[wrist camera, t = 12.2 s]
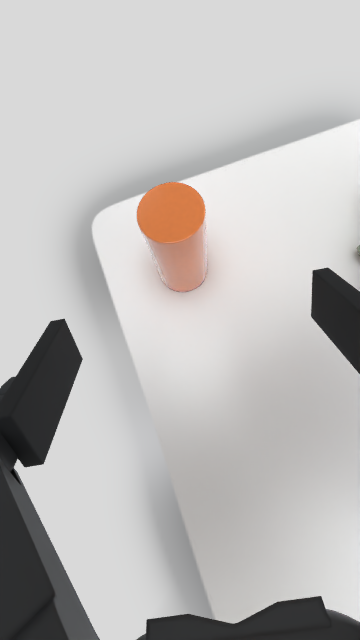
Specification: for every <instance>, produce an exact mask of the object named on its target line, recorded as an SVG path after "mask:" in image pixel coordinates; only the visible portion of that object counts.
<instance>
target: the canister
mask: <svg viewBox="0 0 360 640" xmlns="http://www.w3.org/2000/svg"><path fill="white" fill-rule="evenodd" d="M137 222H138V225H139V227H140V230H141V232H142V234H143V237H144V239H145V241H146V244H147V246H148V249H149V251H150V253H151V256H152V258H153V260H154V263H155V265H156V267H157V270H158V272H159V274H160V277H161V279H162V281H163V282H164V284H165V285H166V286H167V287H169V288H170V289H172V290H174V291H178V292H187V291H191V290H193V289H195V288H197V287H198V286H199V285H201V283H202V282H203V281H204V279H205V277H206V274H207V244H206V212H205V204H204V201H203V199H202V197H201V196H200V194H199V193H198V192H197V191H196V190H195V189H194V188H192V187H190V186H188V185H186V184H183V183H177V182H169V183H164V184H161V185H158V186H156V187H154V188H153V189H151V190H150V191H148V192H147V193H146V194H145V195H144V197H143V198H142V199H141V201H140V203H139V206H138V209H137Z"/></svg>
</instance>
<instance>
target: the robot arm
mask: <svg viewBox="0 0 360 640" xmlns="http://www.w3.org/2000/svg"><path fill="white" fill-rule="evenodd" d="M311 317H312V318H313V319H314V321H315V322H316V323H317V324H318V325H319V327H320V328H321V329H322V330H323V331H324V332H325V334H326V335H327V336H328V337H329V338H330V340H331V341H332V342H333V343H334V344H335V345H336V347H337V348H338V349H339V350H340V351H341V353H342V354H343V355H344V356H345V357H346V358H347V360H348V361H349V362H350V363H351V364H352V366H353V367H354V368H355V369H356V370H357V371H358V373H359V374H360V292H359V291H358V290H357V289H355V288H354V287H353V286H351V285H350V284H349V283H347V282H346V281H345V280H344V279H342V278H341V277H340V276H338V275H337V274H336V273H334V272H333V271H332V270H330V269H329V268H324V269H318V270H313V279H312V308H311ZM81 362H82V357H81V355H80V352H79V350H78V348H77V346H76V343H75V341H74V339H73V337H72V334H71V332H70V330H69V328H68V326H67V323H66V321H65V319H60V320H56V321H51V322H50V323H49V325H48V326H47V328H46V330H45V332H44V333H43V335H42V336H41V338H40V339H39V341H38V342H37V344H36V346H35V347H34V349H33V350H32V352H31V353H30V355H29V357H28V358H27V360H26V361H25V363H24V365H23V366H22V368H21V369H20V371H19V373H18V374H17V376H16V377H11V378H10V379H9V380H8V381H7V382H6V383H5V384H3V385H2V386H1V388H0V640H100V639H99V638H98V636H97V634H96V632H95V630H94V628H93V626H92V624H91V622H90V620H89V618H88V616H87V614H86V612H85V610H84V608H83V606H82V604H81V602H80V600H79V598H78V596H77V594H76V591H75V589H74V587H73V585H72V583H71V581H70V579H69V577H68V575H67V573H66V571H65V569H64V567H63V565H62V563H61V561H60V559H59V557H58V555H57V553H56V551H55V548H54V546H53V545H52V542H51V540H50V538H49V537H48V535H47V532H46V530H45V528H44V526H43V524H42V522H41V520H40V518H39V516H38V514H37V512H36V510H35V508H34V505H33V504H32V502H31V499H30V498H29V495H28V493H27V491H26V489H25V487H24V485H23V483H22V481H21V479H20V477H19V475H18V473H17V471H16V470H15V469H14V465H15V463H16V461H17V459H19V460H20V461H21V463H22V464H23V466H24V467H30V466H36V465H42V464H44V461H45V459H46V456H47V453H48V451H49V448H50V445H51V443H52V440H53V437H54V435H55V432H56V429H57V426H58V424H59V421H60V418H61V416H62V413H63V410H64V408H65V405H66V402H67V400H68V397H69V394H70V392H71V389H72V386H73V384H74V381H75V378H76V375H77V373H78V370H79V367H80V364H81ZM137 640H360V622H358V621H356V620H354V619H352V618H350V617H349V616H347V615H344V614H341V613H339V612H336V611H333V610H328V609H325V606H324V603H323V600H322V597H321V596H318V597H311V598H303V599H296V600H288V601H281V602H276V603H274V604H273V605H271V606H269V607H267V608H265V609H263V610H261V611H259V612H257V613H256V614H254V615H252V616H250V617H248V618H246V619H244V620H242V621H241V622H238V623H235V624H231V623H226V622H222V621H217V620H212V619H208V618H204V617H200V616H195V615H191V614H184V615H177V616H170V617H162V618H155V619H148V620H147V627H146V634H144V635H142V636H141V637H139V638H138V639H137Z"/></svg>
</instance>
